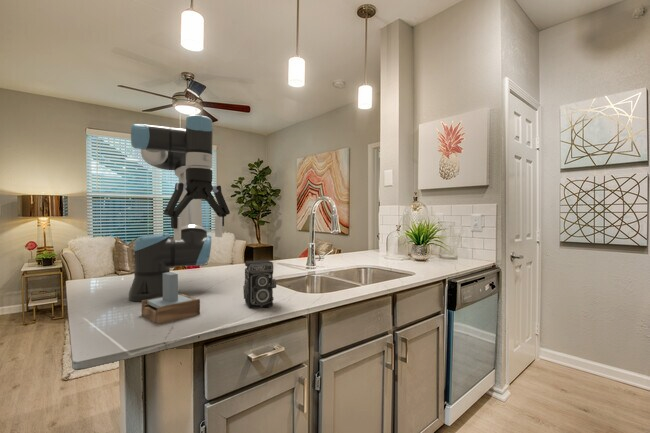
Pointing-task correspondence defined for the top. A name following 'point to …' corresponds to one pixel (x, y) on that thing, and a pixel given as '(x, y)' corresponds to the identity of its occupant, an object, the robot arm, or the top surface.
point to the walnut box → (171, 310)
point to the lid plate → (164, 303)
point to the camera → (259, 283)
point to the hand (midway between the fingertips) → (199, 238)
